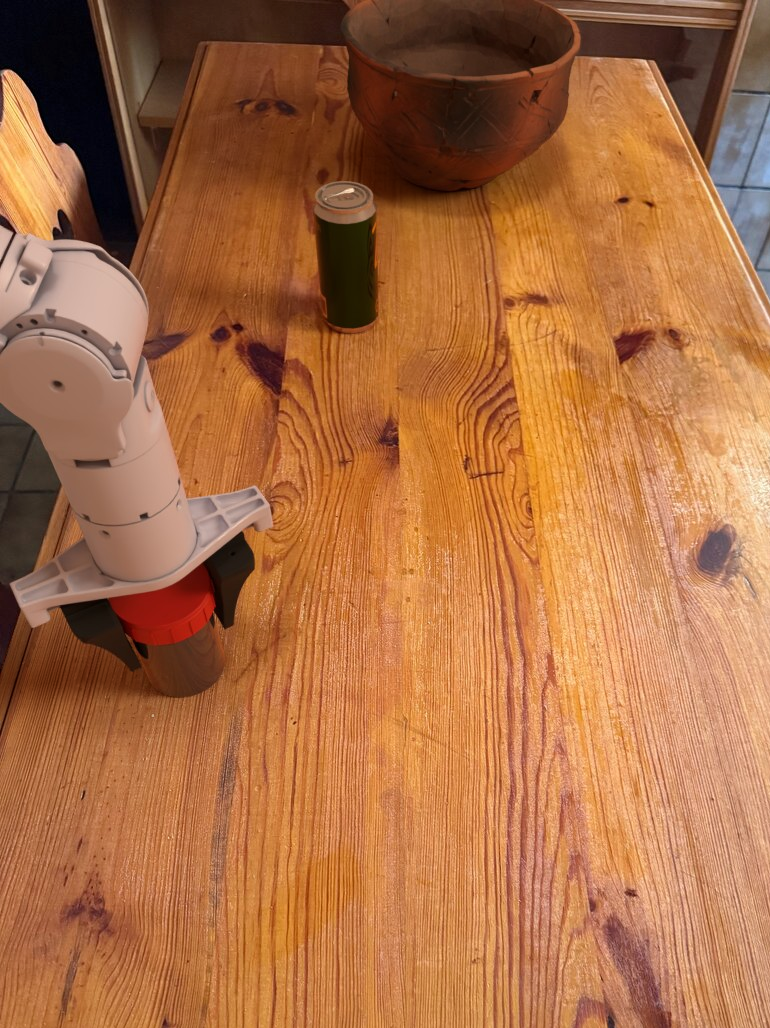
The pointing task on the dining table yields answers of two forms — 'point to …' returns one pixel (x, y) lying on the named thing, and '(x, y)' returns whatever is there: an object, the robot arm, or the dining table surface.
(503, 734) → the dining table surface
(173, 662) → the jar
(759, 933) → the dining table surface
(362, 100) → the bowl
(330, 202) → the beer can
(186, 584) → the jar lid
